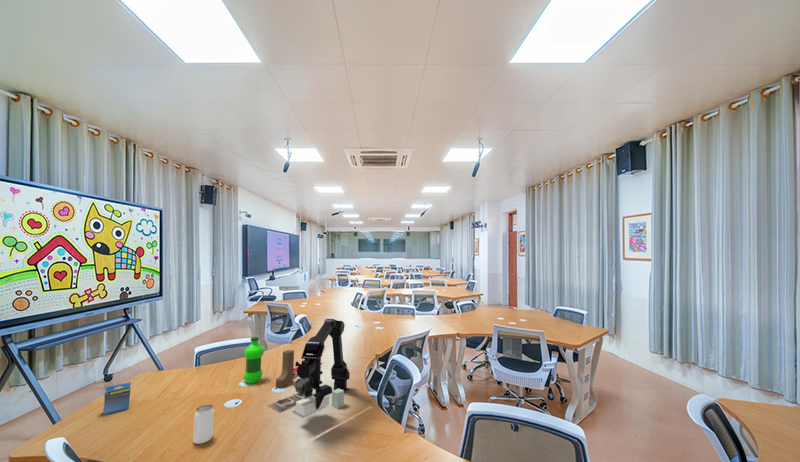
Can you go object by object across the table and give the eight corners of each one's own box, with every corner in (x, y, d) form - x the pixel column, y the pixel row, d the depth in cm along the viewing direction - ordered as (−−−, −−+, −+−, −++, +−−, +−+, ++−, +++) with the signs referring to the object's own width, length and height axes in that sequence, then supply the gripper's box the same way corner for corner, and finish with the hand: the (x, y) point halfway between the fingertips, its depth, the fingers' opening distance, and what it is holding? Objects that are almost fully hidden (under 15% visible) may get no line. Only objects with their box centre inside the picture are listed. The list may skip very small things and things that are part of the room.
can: (198, 435, 124) (200, 404, 125) (215, 434, 125) (217, 403, 126) (189, 444, 118) (191, 412, 119) (207, 444, 118) (208, 411, 119)
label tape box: (128, 405, 148) (130, 379, 149) (129, 408, 145) (131, 381, 146) (103, 412, 142) (105, 384, 143) (103, 415, 139) (105, 387, 140)
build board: (306, 392, 164) (306, 387, 164) (319, 398, 157) (319, 392, 158) (266, 407, 147) (267, 402, 147) (279, 415, 140) (279, 409, 140)
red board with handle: (275, 379, 181) (298, 382, 178) (275, 374, 182) (298, 377, 179) (301, 362, 211) (321, 365, 208) (301, 358, 211) (322, 360, 208)
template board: (316, 402, 152) (316, 396, 153) (328, 408, 147) (328, 401, 147) (291, 413, 141) (291, 407, 142) (302, 420, 136) (303, 413, 136)
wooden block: (281, 388, 168) (282, 354, 170) (275, 387, 170) (276, 353, 172) (293, 382, 177) (294, 350, 178) (287, 381, 178) (288, 349, 180)
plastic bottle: (264, 382, 176) (266, 338, 178) (243, 386, 170) (246, 340, 172) (261, 377, 184) (262, 334, 186) (241, 380, 178) (243, 336, 180)
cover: (320, 400, 141) (320, 391, 141) (329, 404, 137) (329, 395, 138) (295, 411, 131) (295, 401, 131) (304, 416, 127) (304, 406, 127)
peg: (338, 405, 150) (338, 388, 151) (343, 407, 148) (344, 390, 148) (331, 408, 147) (332, 391, 148) (337, 411, 144) (337, 393, 145)
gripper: (285, 370, 135) (284, 407, 133) (311, 380, 123) (310, 421, 122) (307, 363, 143) (306, 398, 142) (333, 372, 132) (332, 410, 131)
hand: (312, 406), depth 134 cm, fingers closed on cover, 6 cm apart
